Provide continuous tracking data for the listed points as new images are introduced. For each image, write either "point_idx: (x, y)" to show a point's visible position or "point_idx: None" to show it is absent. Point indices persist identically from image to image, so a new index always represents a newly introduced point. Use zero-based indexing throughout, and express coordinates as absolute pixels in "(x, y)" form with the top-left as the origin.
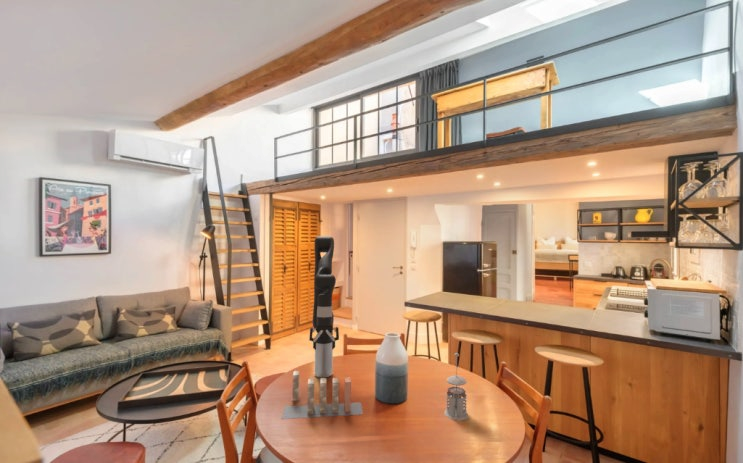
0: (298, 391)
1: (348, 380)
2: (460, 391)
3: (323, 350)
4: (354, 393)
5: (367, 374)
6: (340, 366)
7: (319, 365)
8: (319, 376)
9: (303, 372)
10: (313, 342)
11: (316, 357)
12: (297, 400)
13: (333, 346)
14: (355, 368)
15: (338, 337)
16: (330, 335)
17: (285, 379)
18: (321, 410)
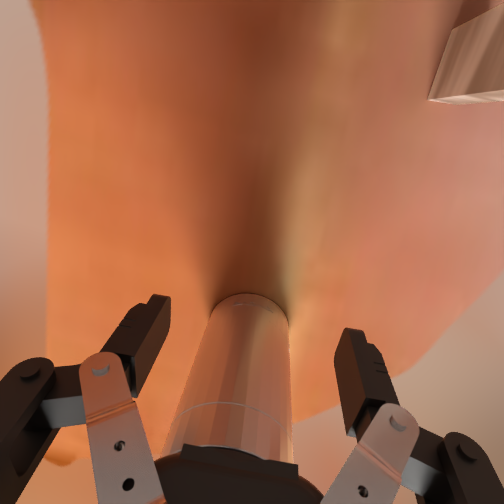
0: (473, 45)
1: None
2: None
3: (241, 400)
4: (126, 72)
5: (53, 273)
6: (165, 377)
7: (271, 337)
8: (272, 303)
9: (329, 368)
10: (396, 407)
11: (286, 383)
12: (463, 25)
13: (145, 309)
14: (104, 343)
15: (2, 387)
16: (119, 451)
17: (425, 326)
18: None
